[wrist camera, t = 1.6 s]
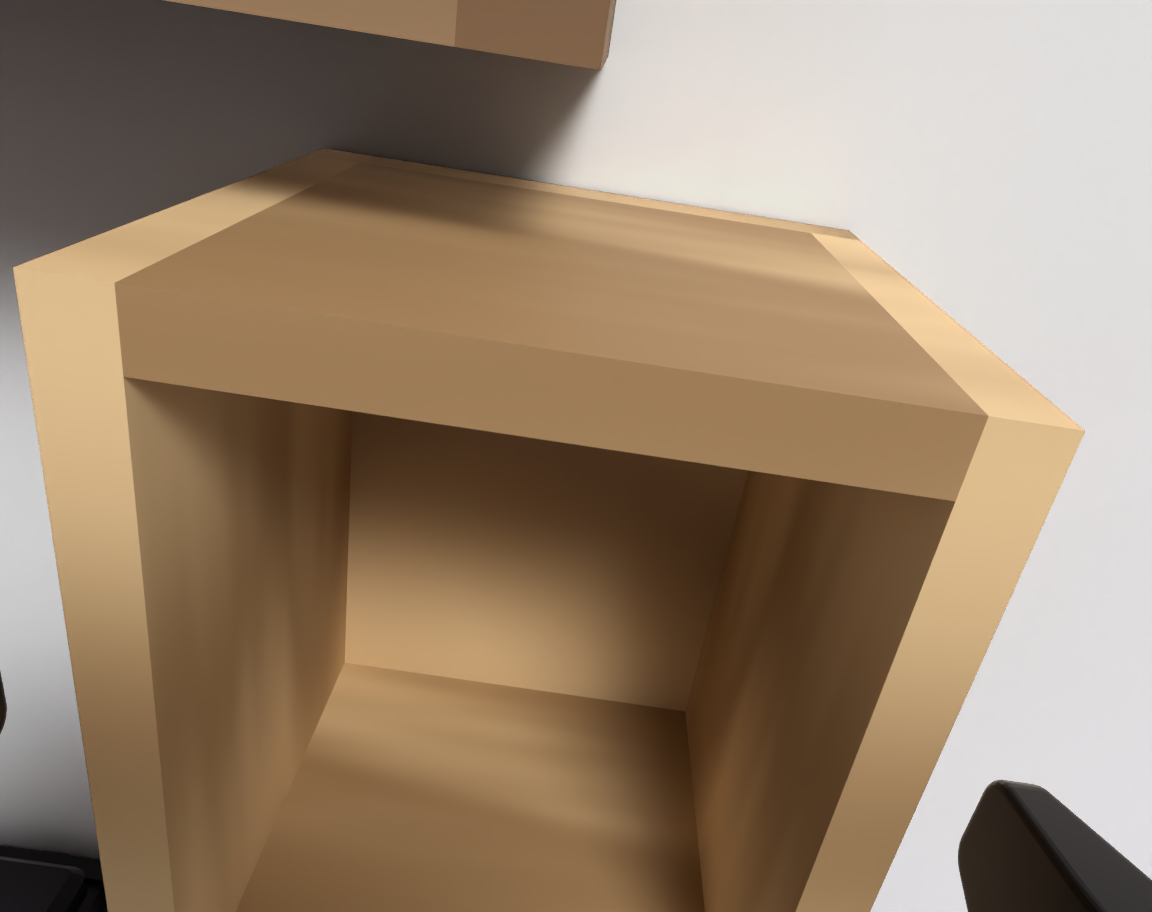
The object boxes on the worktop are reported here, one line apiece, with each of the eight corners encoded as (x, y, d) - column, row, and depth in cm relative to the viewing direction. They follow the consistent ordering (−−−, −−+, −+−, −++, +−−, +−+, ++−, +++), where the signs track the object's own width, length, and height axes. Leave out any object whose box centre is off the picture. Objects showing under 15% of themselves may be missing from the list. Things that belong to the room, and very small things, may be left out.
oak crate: (711, 718, 14) (768, 1139, 9) (317, 662, 14) (129, 1053, 9) (849, 230, 11) (1085, 431, 5) (324, 148, 10) (12, 268, 5)
